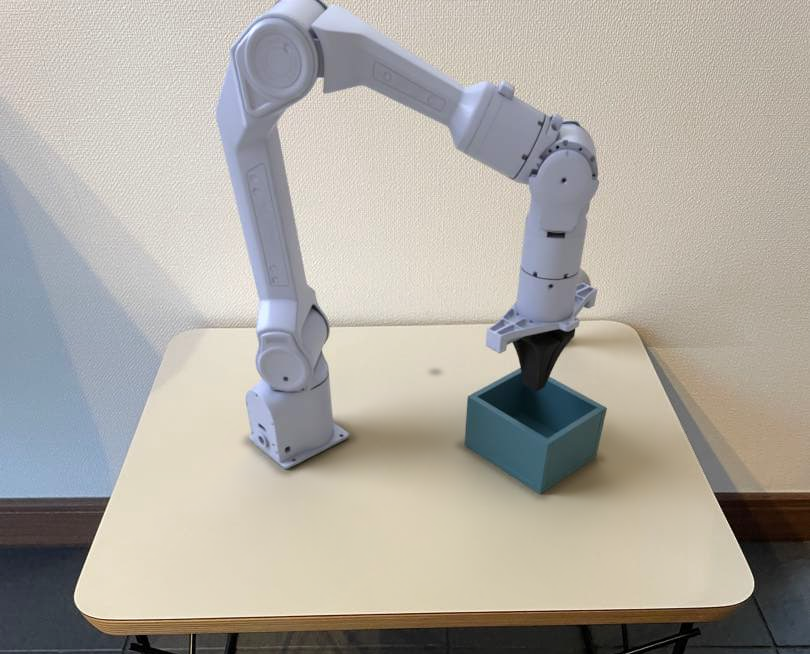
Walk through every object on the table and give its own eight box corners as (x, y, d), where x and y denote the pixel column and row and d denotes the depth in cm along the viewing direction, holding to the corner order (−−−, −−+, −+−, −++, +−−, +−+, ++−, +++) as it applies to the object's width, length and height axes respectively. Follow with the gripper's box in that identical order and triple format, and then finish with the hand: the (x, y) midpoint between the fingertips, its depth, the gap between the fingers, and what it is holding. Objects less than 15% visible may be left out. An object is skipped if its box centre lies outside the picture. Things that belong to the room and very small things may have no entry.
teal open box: (548, 444, 80) (607, 407, 85) (467, 396, 87) (526, 364, 91) (539, 494, 85) (596, 456, 90) (464, 445, 92) (520, 412, 96)
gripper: (529, 305, 68) (514, 428, 78) (629, 257, 75) (604, 376, 85) (474, 278, 72) (466, 398, 82) (574, 235, 79) (556, 350, 89)
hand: (533, 385), depth 84 cm, fingers closed
